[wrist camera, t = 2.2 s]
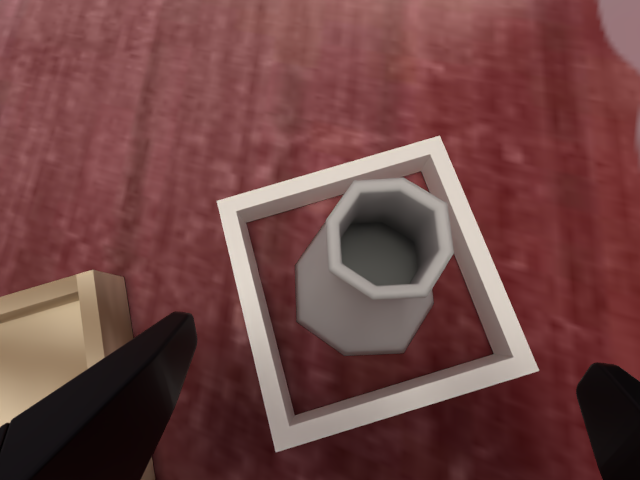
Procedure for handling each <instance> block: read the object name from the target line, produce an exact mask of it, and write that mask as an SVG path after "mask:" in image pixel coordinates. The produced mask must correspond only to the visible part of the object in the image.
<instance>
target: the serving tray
mask: <svg viewBox="0 0 640 480" xmlns="http://www.w3.org/2000/svg"><path fill="white" fill-rule="evenodd" d="M132 339H133V332H132V325H131V319H130V313H129V306H128V300H127V293H126V287H125V280H124V277H121V276H117V275H112V274H108V273H104V272H100V271H96V270H91V271H87V272H84V273H80V274H77V275H74V276H70V277H67V278H63V279H60V280H57V281H53V282H50V283H47V284H43V285H40V286H36V287H33V288H30V289H26V290H23V291H19V292H16V293H13V294H9V295H6V296H2V297H0V427H1V426H2V425H4V424H5V423H10V422H11V420H12V419H13V418H14V417H16V416H17V415H19V414H20V413H22V412H23V411H25V410H26V409H28V408H29V407H31V406H32V405H34V404H36V403H37V402H39V401H40V400H42V399H43V398H45V397H46V396H48V395H49V394H51V393H52V392H54V391H55V390H57V389H58V388H60V387H61V386H63V385H64V384H66V383H67V382H69V381H70V380H72V379H73V378H75V377H76V376H78V375H79V374H81V373H82V372H84V371H85V370H87V369H88V368H90V367H91V366H93V365H94V364H96V363H97V362H99V361H100V360H102V359H103V358H105V357H106V356H108V355H109V354H111V353H112V352H114V351H115V350H117V349H118V348H120V347H121V346H123V345H124V344H126V343H127V342H129V341H130V340H132ZM141 480H155V473H154V467H153V461H152V457H151V459H150V461H149V463H148V465H147V467H146V469H145V472H144V474H143V476H142V478H141Z"/></svg>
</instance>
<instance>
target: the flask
mask: <svg viewBox="0 0 640 480" xmlns="http://www.w3.org/2000/svg"><path fill="white" fill-rule="evenodd" d="M453 254H454V248H453V241H452V234H451V227H450V220H449V213H448V205H447V203H446V202H444V201H443V200H441V199H439V198H438V197H436V196H434V195H432V194H431V193H429V192H427V191H426V190H424V189H422V188H420V187H419V186H417V185H415V184H414V183H412V182H410V181H408V180H407V179H405V178H386V179H370V180H354V181H353V182H352V184H351V185H350V187H349V188H348V189H347V191H346V192H345V194H344V195H343V197H342V198H341V199H340V201H339V202H338V204H337V205H336V207H335V208H334V209H333V211H332V212H331V214H330V215H329V217H328V218H327V219H326V222H325V223H324V224H323V226H322V227H321V229H320V230H319V232H318V233H317V234H316V236H315V237H314V239H313V240H312V242H311V243H310V244H309V246H308V247H307V249H306V250H305V252H304V253H303V254H302V256H301V257H300V259H299V260H298V262H297V263H296V264H295V289H296V322H297V323H299V324H300V325H302V326H303V327H304V328H306V329H307V330H309V331H310V332H311V333H313V334H314V335H316V336H317V337H318V338H320V339H321V340H323V341H324V342H326V343H327V344H328V345H330V346H331V347H333V348H334V349H335V350H337V351H338V352H340V353H341V354H342V355H344V356H353V355H376V354H399V353H404V352H405V350H406V349H407V347H408V345H409V344H410V342H411V340H412V339H413V337H414V336H415V334H416V332H417V331H418V329H419V327H420V326H421V324H422V322H423V321H424V319H425V317H426V316H427V314H428V312H429V311H430V309H431V307H432V306H433V304H434V300H433V292H432V288H433V286H434V285H435V283H436V281H437V280H438V278H439V277H440V275H441V273H442V272H443V270H444V268H445V267H446V265H447V263H448V262H449V260H450V259H451V257H452V255H453Z"/></svg>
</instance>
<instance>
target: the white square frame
mask: <svg viewBox="0 0 640 480" xmlns="http://www.w3.org/2000/svg"><path fill="white" fill-rule="evenodd" d="M420 171H421V172H422V175H423V177H424V180H425V182H426V185H427V187H428V190H429V192H430V193H431V194H432V195H434V196H436V197H438V198H439V199H441V200H443V201H444V202H446V203H447V205H448V213H449V220H450V227H451V234H452V241H453V248H454V255H455V258H456V260H457V263H458V265H459V268H460V270H461V273H462V275H463V278H464V280H465V283H466V285H467V288H468V290H469V293H470V295H471V298H472V300H473V303H474V305H475V308H476V310H477V313H478V315H479V318H480V321H481V323H482V326H483V328H484V331H485V333H486V336H487V338H488V341H489V343H490V346H491V348H492V351H493V353H494V354H492V355H489V356H486V357H483V358H479V359H476V360H473V361H470V362H466V363H463V364H460V365H457V366H453V367H450V368H447V369H444V370H440V371H437V372H434V373H431V374H427V375H424V376H421V377H418V378H414V379H411V380H408V381H405V382H401V383H398V384H395V385H392V386H388V387H385V388H382V389H379V390H375V391H372V392H369V393H366V394H362V395H359V396H356V397H353V398H349V399H346V400H343V401H340V402H337V403H333V404H330V405H327V406H324V407H320V408H317V409H314V410H311V411H307V412H304V413H301V414H298V415H295V414H294V410H293V407H292V403H291V399H290V395H289V391H288V387H287V383H286V379H285V375H284V371H283V367H282V363H281V359H280V355H279V351H278V347H277V343H276V339H275V335H274V331H273V327H272V323H271V319H270V315H269V311H268V307H267V303H266V299H265V296H264V292H263V288H262V284H261V280H260V276H259V272H258V268H257V264H256V260H255V256H254V252H253V248H252V244H251V240H250V236H249V232H248V228H247V224H246V223H247V222H251V221H254V220H257V219H261V218H264V217H268V216H271V215H274V214H278V213H281V212H285V211H288V210H291V209H295V208H298V207H301V206H305V205H308V204H312V203H315V202H318V201H322V200H325V199H329V198H332V197H335V196H339V195H342V194H345V192H346V191H347V189H348V188H349V187H350V185H351V184H352V182H353V181H354V180H370V179H386V178H400V177H403V176H407V175H410V174H413V173H417V172H420ZM217 204H218V208H219V213H220V217H221V221H222V225H223V230H224V234H225V238H226V242H227V247H228V251H229V255H230V260H231V264H232V268H233V272H234V277H235V281H236V285H237V289H238V294H239V298H240V302H241V307H242V311H243V315H244V319H245V324H246V328H247V332H248V336H249V341H250V345H251V349H252V353H253V358H254V362H255V366H256V371H257V375H258V379H259V383H260V388H261V392H262V396H263V400H264V405H265V409H266V413H267V418H268V422H269V426H270V430H271V435H272V439H273V443H274V447H275V452H279V451H282V450H285V449H289V448H292V447H295V446H298V445H302V444H305V443H308V442H311V441H315V440H318V439H321V438H324V437H327V436H331V435H334V434H337V433H340V432H344V431H347V430H350V429H353V428H356V427H360V426H363V425H366V424H369V423H373V422H376V421H379V420H382V419H386V418H389V417H392V416H395V415H398V414H402V413H405V412H408V411H411V410H415V409H418V408H421V407H424V406H427V405H431V404H434V403H437V402H440V401H444V400H447V399H450V398H453V397H457V396H460V395H463V394H466V393H469V392H473V391H476V390H479V389H482V388H486V387H489V386H492V385H495V384H498V383H502V382H505V381H508V380H511V379H515V378H518V377H521V376H524V375H528V374H531V373H534V372H537V371H539V369H538V367H537V364H536V362H535V360H534V357H533V355H532V353H531V350H530V348H529V345H528V343H527V341H526V338H525V336H524V334H523V331H522V329H521V327H520V324H519V322H518V319H517V317H516V315H515V312H514V310H513V308H512V305H511V303H510V301H509V298H508V296H507V293H506V291H505V289H504V286H503V284H502V282H501V279H500V277H499V275H498V272H497V270H496V267H495V265H494V263H493V260H492V258H491V256H490V253H489V251H488V249H487V246H486V244H485V241H484V239H483V237H482V234H481V232H480V230H479V227H478V225H477V223H476V220H475V218H474V215H473V213H472V211H471V208H470V206H469V204H468V201H467V199H466V197H465V194H464V192H463V189H462V187H461V185H460V182H459V180H458V178H457V175H456V173H455V171H454V168H453V166H452V163H451V161H450V159H449V156H448V154H447V152H446V149H445V147H444V145H443V142H442V140H441V137H440V136H437V137H434V138H430V139H427V140H424V141H420V142H417V143H413V144H410V145H406V146H403V147H400V148H396V149H393V150H389V151H386V152H383V153H379V154H376V155H372V156H369V157H365V158H362V159H359V160H355V161H352V162H348V163H345V164H342V165H338V166H335V167H331V168H328V169H324V170H321V171H318V172H314V173H311V174H307V175H304V176H301V177H297V178H294V179H290V180H287V181H283V182H280V183H277V184H273V185H270V186H266V187H263V188H260V189H256V190H253V191H249V192H246V193H242V194H239V195H236V196H232V197H229V198H225V199H222V200H219V201H217Z"/></svg>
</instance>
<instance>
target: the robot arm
mask: <svg viewBox="0 0 640 480" xmlns="http://www.w3.org/2000/svg"><path fill="white" fill-rule="evenodd" d="M196 345H197V334H196V328H195V323H194V318H193V316H192V314H190V313H185V312H173V313H171V314H169V315H168V316H166V317H165V318H163V319H162V320H160V321H159V322H157V323H156V324H154V325H153V326H151V327H150V328H148V329H147V330H145V331H144V332H142V333H141V334H139V335H138V336H136V337H135V338H133V339H132V340H130V341H129V342H127V343H126V344H124V345H123V346H121V347H120V348H118V349H117V350H115V351H114V352H112V353H111V354H109V355H108V356H106V357H105V358H103V359H102V360H100V361H99V362H97V363H96V364H94V365H93V366H91V367H90V368H88V369H87V370H85V371H84V372H82V373H81V374H79V375H78V376H76V377H75V378H73V379H72V380H70V381H69V382H67V383H66V384H64V385H63V386H61V387H60V388H58V389H57V390H55V391H54V392H52V393H51V394H49V395H48V396H46V397H45V398H43V399H42V400H40V401H39V402H37V403H36V404H34V405H32V406H31V407H29V408H28V409H26V410H25V411H23V412H22V413H20V414H19V415H17V416H16V417H14V418H13V419H12V420H11V422H10V423H5V424H4V425H2V426H1V427H0V480H141V478H142V476H143V474H144V472H145V469H146V467H147V465H148V463H149V461H150V459H151V457H152V455H153V453H154V451H155V448H156V446H157V444H158V442H159V440H160V438H161V436H162V434H163V432H164V430H165V427H166V425H167V423H168V421H169V419H170V417H171V415H172V412H173V410H174V408H175V405H176V402H177V400H178V397H179V394H180V391H181V389H182V386H183V383H184V380H185V377H186V374H187V372H188V369H189V366H190V363H191V360H192V357H193V355H194V352H195V349H196ZM576 394H577V399H578V402H579V406H580V409H581V412H582V416H583V419H584V422H585V426H586V429H587V432H588V436H589V439H590V442H591V446H592V449H593V452H594V456H595V459H596V462H597V465H598V468H599V471H600V473H601V476H602V478H603V480H640V382H639V381H638V380H637V379H635V378H634V377H633V376H631V375H630V374H628V373H627V372H626V371H624V370H623V369H622V368H620V367H619V366H617V365H614V364H606V363H598V362H597V363H594V364H592V365H591V366H590V367H589V369H588V370H587V372H586V373H585V375H584V376H583V377H582V379H581V380H580V382H579V383H578V385H577V389H576Z"/></svg>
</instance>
